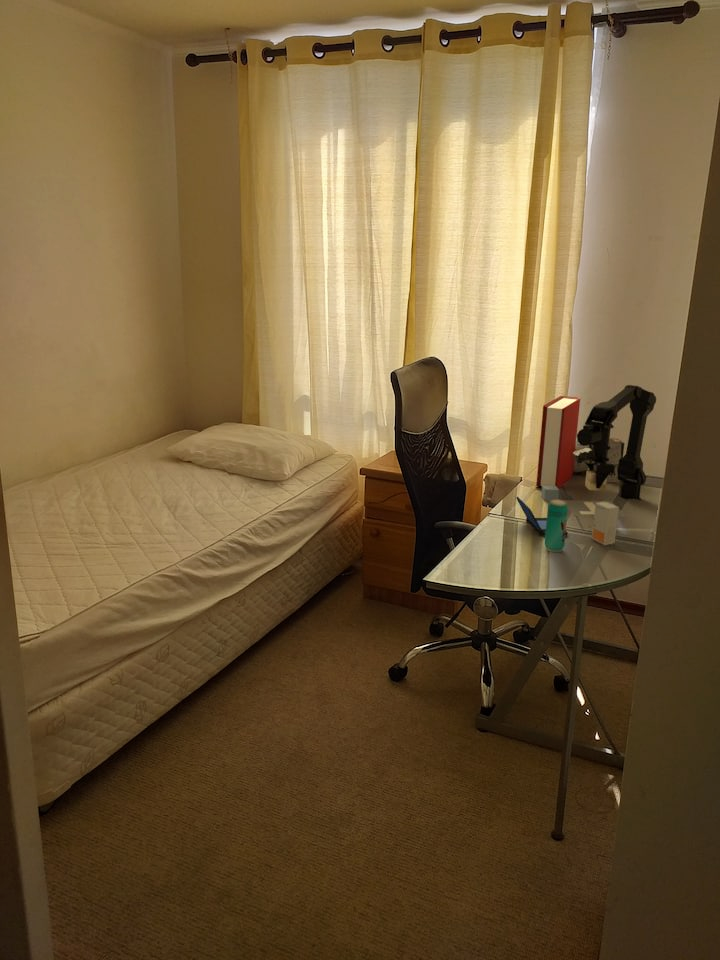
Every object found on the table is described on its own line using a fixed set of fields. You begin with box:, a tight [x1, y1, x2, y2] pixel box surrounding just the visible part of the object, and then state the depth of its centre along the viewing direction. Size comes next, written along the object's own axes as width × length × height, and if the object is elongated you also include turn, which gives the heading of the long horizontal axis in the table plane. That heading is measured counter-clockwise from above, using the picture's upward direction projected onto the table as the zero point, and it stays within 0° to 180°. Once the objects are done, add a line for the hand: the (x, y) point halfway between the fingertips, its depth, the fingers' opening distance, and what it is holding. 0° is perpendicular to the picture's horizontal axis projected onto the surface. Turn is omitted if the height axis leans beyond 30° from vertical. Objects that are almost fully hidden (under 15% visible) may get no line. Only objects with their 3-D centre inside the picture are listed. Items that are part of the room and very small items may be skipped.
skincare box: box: [591, 502, 620, 546], centre depth 228 cm, size 6×4×12 cm
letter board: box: [563, 499, 628, 518], centre depth 261 cm, size 18×18×1 cm
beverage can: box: [544, 498, 569, 553], centre depth 220 cm, size 6×6×15 cm
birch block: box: [584, 470, 608, 491], centre depth 258 cm, size 6×6×6 cm
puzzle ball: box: [573, 437, 589, 473], centre depth 309 cm, size 15×15×15 cm
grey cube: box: [540, 486, 560, 502], centre depth 270 cm, size 5×5×5 cm
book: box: [535, 395, 581, 490], centre depth 292 cm, size 27×8×32 cm, turn 152°
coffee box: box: [605, 437, 625, 483], centre depth 298 cm, size 9×6×16 cm
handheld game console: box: [515, 496, 569, 537], centre depth 239 cm, size 16×13×9 cm
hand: (595, 485), depth 258 cm, fingers closed on birch block, 5 cm apart
